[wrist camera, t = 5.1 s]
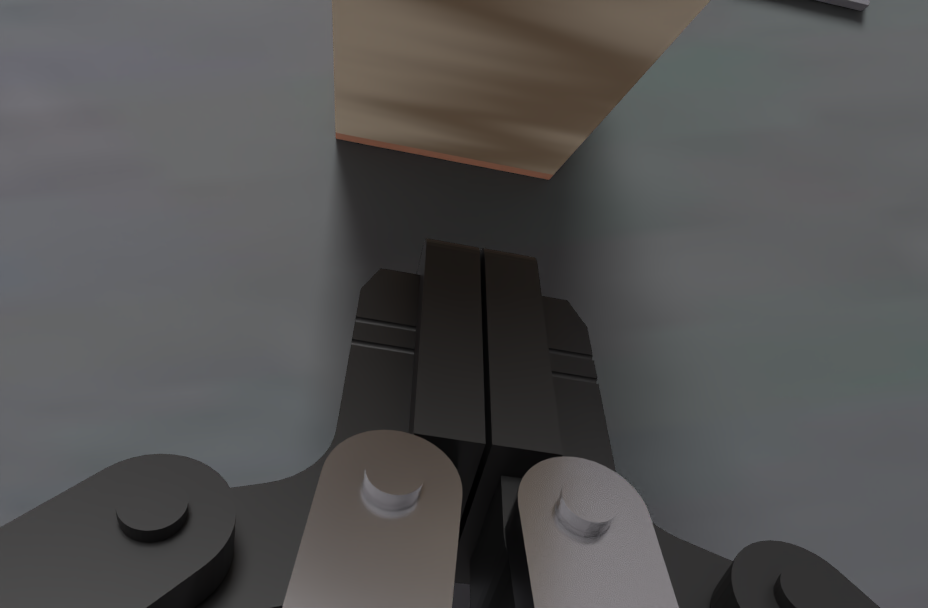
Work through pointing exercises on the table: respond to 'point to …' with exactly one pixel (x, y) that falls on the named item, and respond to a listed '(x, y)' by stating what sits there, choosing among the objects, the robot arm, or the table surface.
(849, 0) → the mat
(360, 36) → the tall block
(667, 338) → the table surface
